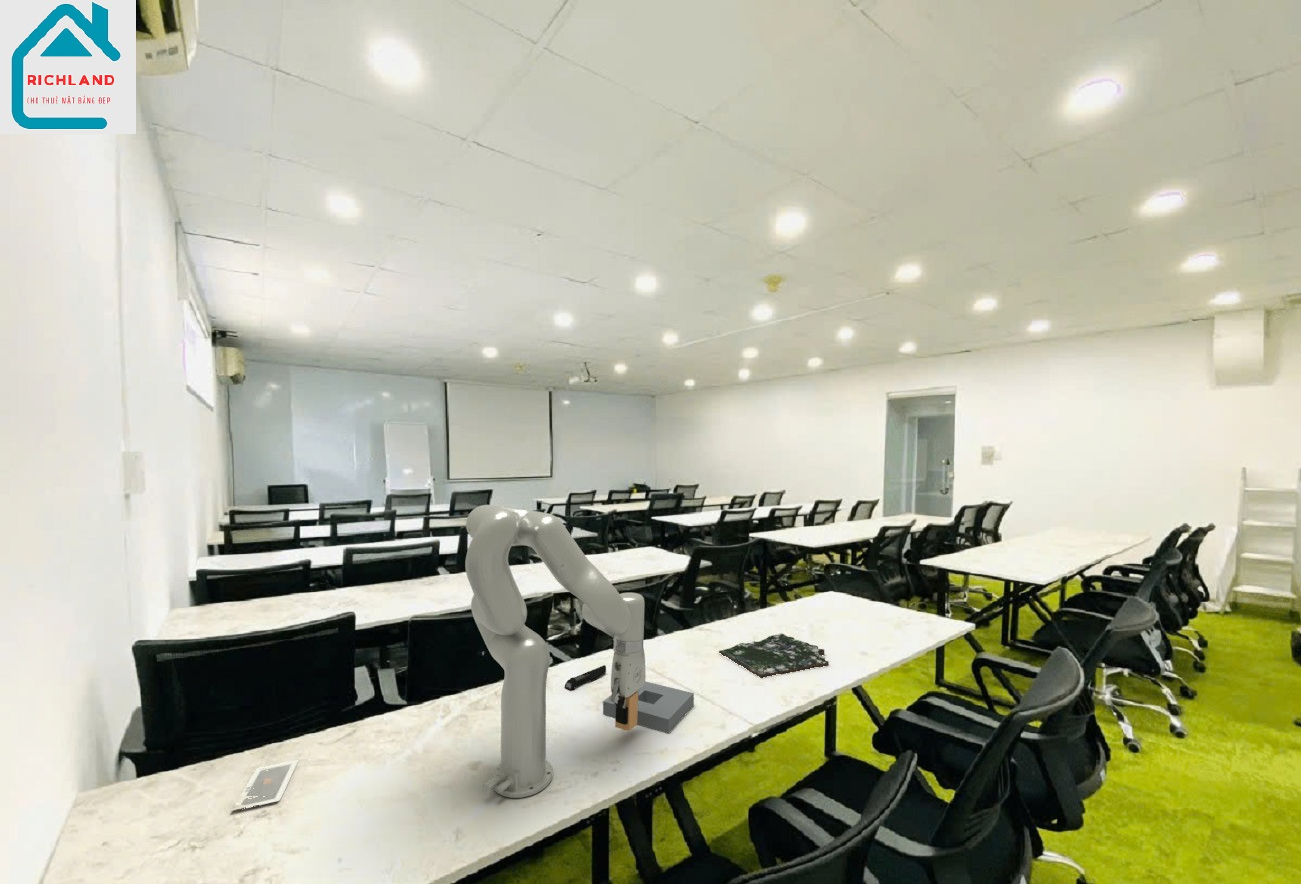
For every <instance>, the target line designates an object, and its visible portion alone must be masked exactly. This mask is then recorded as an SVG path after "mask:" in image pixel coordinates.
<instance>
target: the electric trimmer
mask: <svg viewBox="0 0 1301 884" xmlns="http://www.w3.org/2000/svg"><path fill="white" fill-rule="evenodd" d="M606 673H607V667H606V665H605V664H604V665H602V666H599V667H596V668H594V669H592V670H589V671H586V672H584V673H582V674H579V675H577V676H574V677H570V678H569V679H568V680H567V681H566V682H565V685H564V689H565V690H567V691H569V692H571V691H575V689H576V688H578V687H579V686H580V687H581V686H582V685H584V684H586V683H588V682H593V681H595V680H597V679H598V678H600V677H602V676H603V675H605V674H606Z"/></svg>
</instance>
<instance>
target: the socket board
mask: <svg viewBox="0 0 1301 884" xmlns="http://www.w3.org/2000/svg"><path fill="white" fill-rule="evenodd" d="M694 695H695V693H694V692H690V691H686V690H683V689H682V690H681V689H678V688H673V687H670V686H666V685H661V684H657V683H653V682H649V681H646V680H645V684H644V686H643V687H642V688H640V689H639V698H638V714H637V725H639V726H642V727H646V728H648V729H652V730H655V731H658V732H662V733H666V734H670V733H671V732H672V730H673V729H674V728H675V727H676V726H677V725H678V724H679V723H680V722H681V720H683V718H684V717H685V716H686V715H687V714H688V713H689V712H690V711H691V709H692V708H693V707H694V706H695V703H694V702H695V701H694V700H695V697H694ZM610 698H611V695H609V696H608V697H607V698H605V699H604V700H603V701H602V710H603V711H602V714H603V715H604V716H607V717H611V718H616V706H615V704H614V702H612V701H610ZM693 705H694V706H693ZM688 711H689V712H688ZM687 712H688V713H687ZM686 713H687V714H686ZM685 714H686V715H685ZM679 721H680V722H679Z"/></svg>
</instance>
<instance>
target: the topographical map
mask: <svg viewBox="0 0 1301 884" xmlns="http://www.w3.org/2000/svg"><path fill="white" fill-rule="evenodd" d="M719 653H721V654H722V655H723V656H726V657H728V658H729V659H731V660H732V661H734V662H735V663H737V664H738V665H737V664H736V665H737V666H739V665H741V666H743V667H744V668H746V669H747V670H749V671H748V672H749V673H751V672H752V673H753V675H754V674H756V675H757V676H759V677H760V678H759V677H758V678H759V679H764V678H763V677H765V678H768V677H767V676H771V677H773V676H772V675H776V674H781V675H786V673H787V674H791V673H790V672H792V673H797V672H796V671H798V672H801V671H800V670H803V671H806V670H805V669H809V670H811V669H810V668H814V667H819V668H820V667H823V666H826V665H830V664H829V663H830V662H829V661H828V660H826V657H825V649H824V648H819V646H818V645H814V644H810V643H808V642H806V641H805V642H804V641H802V640H799V639H795V638H794V637H793V636H788V635H786V634H784V633H782V632H781V633H778V634H773V635H769V636H768V637H766V638H765V639H761V640H759V641H752V642H740V643H738V644H736V645H734V646H732V647H730V648H725V649H721V650H718V654H719ZM722 655H721V656H722ZM822 655H824V656H822ZM723 656H722V657H723ZM732 661H731V662H732ZM734 662H733V663H734ZM735 663H734V664H735ZM826 667H827V666H826ZM744 668H743V669H744ZM823 668H824V667H823ZM746 669H745V670H746ZM814 669H815V668H814ZM747 670H746V671H747ZM752 673H751V674H752ZM756 675H755V676H756ZM757 676H756V677H757ZM776 676H777V675H776Z"/></svg>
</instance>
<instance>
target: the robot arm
mask: <svg viewBox="0 0 1301 884" xmlns="http://www.w3.org/2000/svg"><path fill="white" fill-rule="evenodd" d="M465 522H466V523H465V526H466V527H465V528H466V532H467V533H468V536H470V537H471V538H472V539H471V541H470V543H469V546H468V549H467V552H466V556H465V562H464V563H465V565H464V567H465V573H466V577H467V580H468V582H469V585H470V587H471V589H472V593H473V595H472V598H471V603H470V610H471V613H472V617H473V619H474V622H475V625H476V626H477V629H478V631H479V632H480V635H481V637H482V639H483V641H484V644H485V645H486V648H487V649H488V651H489V653H490V655H491V657H492V658H493V660H494V661H496V662H497V663H498V664H499V665H500V666H501V668H502V669H503V670H504V679H503V684H502V688H501V695H500V697H501V698H500V710H501V711H500V712H501V714H500V724H501V725H500V764H498V765H497V766H496V771H495V772H494V775H493V777H492V778H491V779H490V780H488V781H486V782H485V783H484V784H483V788H482V789H483V792H484V793H485V794H487V795H488V794H489V795H490V793H491V792H493V791H494V790H495V792H496V793H497V794H499V795H500V796H502V797H506V798H508V799H509V798H510V799H511V798H512V799H518V798H519V799H521V798H525V797H526V798H527V797H531V796H533V795H536V794H537V793H539V792H541V791H543V790H544V789H546V787H547V786H548V785H549V784H550V782H551V781H552V780H553V775H554V772H553V771H554V770H553V765H552V764H551V763H550V762H549V761H548V760H546V759H547V757H546V756H547V754H546V753H547V748H546V747H547V746H546V745H547V743H546V740H547V739H546V738H547V737H546V736H547V735H546V734H547V723H546V722H547V705H546V703H547V699H546V698H547V678H548V673H549V669H550V668H549V667H550V660H551V659H550V657H551V655H550V654H551V653H550V649H549V647H548V644H547V642H546V641H545V639H543V638H542V637H541V635H540V634H538V633H537V632H535V631H533V629H531V628H529V627H528V626H526V624H525V623H526V621H527V618H528V617H527V616H528V609H527V605H526V602H525V600H524V599H525V598H523V596H522V593H521V592H520V590H519V587H518V585H517V582H516V580H515V578H514V576H513V573H512V570H511V567H510V564H509V553H510V550H511V548H512V546H513V545H514V546H516V545H517V546H527V547H528V548H529V547H530V548H532V549H533V551H535V554H537V556H538V557H539V558H540V560H541V561H542V562H543V564H544V565H545V566H546V568H547V569H548V571H549V572H550V574H551V575H552V576H553V577H554V579H555V580H556V581H557V582H558V584H560V586H562V587H563V588H564V589H565V590H566V591H567V592H568V593H571V594H572V595H573V596H575V597H576V598H578V600H580V601H581V602H582V603H583V605H582V609H581V615H582V618H583V619H584V620H585V622H586V623H587V624H589V625H591V626H592V627H594V628H596V629H597V630H600V631H602V632H603V633H605V634H606V635H608V636H611V637H613V652H614V653H613V656H612V663H611V664H612V665H611V673H610V691H611V694H610V696H611V698H610V701H612V702H614V704H615V706H616V719H615V720H616V722H618V723H621V724H624V725H626V724H627V723H628V707H626V706H627V698H628V697H630V696H631V695H632V694H634V693H635V692H636V691H638V698H639V689H640V688H642V687H643V686H644V684H645V681H646V675H647V674H646V655H645V648H644V640H645V639H644V633H645V631H644V629H645V628H644V625H645V597H644V596H643V595H642V594H640V593H636V592H621V593H620V592H619V591H618V590H617V588H616V587H615V586H614V585H613V583H612V582H610V580H608V579H607V578H606V577H605V576H604V574H603V573H602V572H601V571H600V570H599V569H598V568H597V566H595V565H594V564H593V562H591V561H590V560H589V559H588V558H587V556H586V555H585V553H584V552H583V551H582V549H581V548H580V546H579V545H578V543H577V542H576V541H575V539H574V538H573V536H572V534H571V533H570V532H569V531H568V529H567V527H566V526H565V525H564V524H563V522H562V521H561V519H559V518H558V517H557V516H555V515H554V514H552V513H547V512H543V511H535V510H529V509H528V510H526V509H518V508H512V507H506V506H499V505H493V504H483V505H479V506H477V507H475V508H474V509H472V510H471V512H470V513H469V514H468V516H467V519H466V521H465ZM620 691H621V692H620ZM620 696H621V697H623V701H622V700H621V699H620Z"/></svg>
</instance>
